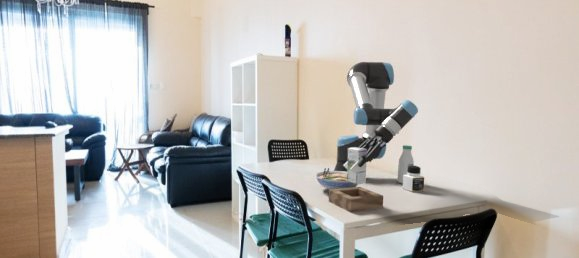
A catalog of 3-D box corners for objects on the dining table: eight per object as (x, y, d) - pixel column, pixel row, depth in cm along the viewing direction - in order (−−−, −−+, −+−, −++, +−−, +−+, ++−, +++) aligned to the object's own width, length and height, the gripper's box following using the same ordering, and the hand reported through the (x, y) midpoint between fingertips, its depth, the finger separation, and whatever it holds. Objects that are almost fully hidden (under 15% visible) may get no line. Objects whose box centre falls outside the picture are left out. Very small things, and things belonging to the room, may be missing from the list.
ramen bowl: (362, 199, 158) (363, 181, 157) (310, 195, 163) (311, 177, 162) (362, 186, 182) (363, 170, 182) (317, 183, 187) (318, 167, 186)
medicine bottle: (412, 192, 173) (413, 167, 172) (402, 188, 179) (403, 165, 178) (423, 191, 175) (425, 166, 174) (413, 187, 182) (415, 164, 181)
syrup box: (366, 183, 149) (367, 148, 147) (356, 184, 145) (358, 149, 144) (355, 180, 153) (356, 146, 152) (346, 182, 149) (347, 147, 148)
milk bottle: (401, 184, 188) (404, 146, 186) (394, 180, 195) (397, 144, 194) (415, 184, 189) (417, 146, 187) (407, 180, 197) (410, 144, 195)
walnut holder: (328, 201, 154) (329, 189, 153) (359, 197, 161) (359, 186, 160) (350, 212, 140) (350, 199, 139) (382, 207, 146) (383, 195, 146)
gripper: (404, 139, 140) (364, 181, 139) (382, 134, 160) (346, 170, 159) (392, 126, 139) (351, 167, 137) (371, 122, 159) (335, 159, 157)
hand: (348, 169), depth 148 cm, fingers closed on syrup box, 7 cm apart
